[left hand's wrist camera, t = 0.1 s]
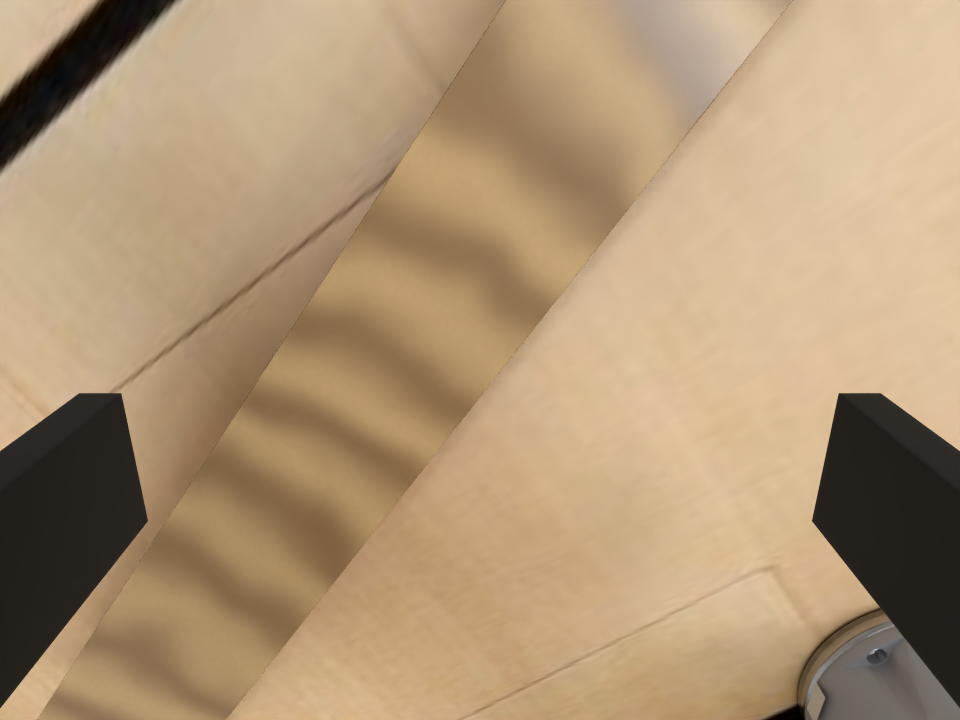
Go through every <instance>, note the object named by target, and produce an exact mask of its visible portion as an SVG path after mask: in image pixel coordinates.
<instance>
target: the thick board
mask: <svg viewBox="0 0 960 720" xmlns="http://www.w3.org/2000/svg"><path fill="white" fill-rule="evenodd" d="M792 1H793V0H505V2H504V3H503V5H502V7H501V8H500V10H499V11H498V13H497V14H496V16H495V17H494V19H493V20H492V22H491V23H490V25H489V26H488V28H487V30H486V31H485V33H484V34H483V36H482V37H481V39H480V40H479V42H478V43H477V45H476V46H475V48H474V49H473V51H472V53H471V54H470V56H469V57H468V59H467V60H466V62H465V63H464V65H463V66H462V68H461V69H460V71H459V73H458V74H457V76H456V77H455V79H454V80H453V82H452V83H451V85H450V86H449V88H448V89H447V91H446V92H445V94H444V96H443V97H442V99H441V100H440V102H439V103H438V105H437V106H436V108H435V109H434V111H433V112H432V114H431V115H430V117H429V119H428V120H427V122H426V123H425V125H424V126H423V128H422V129H421V131H420V132H419V134H418V135H417V137H416V139H415V140H414V142H413V143H412V145H411V146H410V148H409V149H408V151H407V152H406V154H405V155H404V157H403V158H402V160H401V162H400V163H399V165H398V166H397V168H396V169H395V171H394V172H393V174H392V175H391V177H390V178H389V180H388V181H387V183H386V185H385V186H384V188H383V189H382V191H381V192H380V194H379V195H378V197H377V198H376V200H375V201H374V203H373V205H372V206H371V208H370V209H369V211H368V212H367V214H366V215H365V217H364V218H363V220H362V221H361V223H360V224H359V226H358V228H357V229H356V231H355V232H354V234H353V235H352V237H351V238H350V240H349V241H348V243H347V244H346V246H345V247H344V249H343V251H342V252H341V254H340V255H339V257H338V258H337V260H336V261H335V263H334V264H333V266H332V267H331V269H330V271H329V272H328V274H327V275H326V277H325V278H324V280H323V281H322V283H321V284H320V286H319V287H318V289H317V290H316V292H315V294H314V295H313V297H312V298H311V300H310V301H309V303H308V304H307V306H306V307H305V309H304V310H303V312H302V313H301V315H300V317H299V318H298V320H297V321H296V323H295V324H294V326H293V327H292V329H291V330H290V332H289V333H288V335H287V337H286V338H285V340H284V341H283V343H282V344H281V346H280V347H279V349H278V350H277V352H276V353H275V355H274V356H273V358H272V360H271V361H270V363H269V364H268V366H267V367H266V369H265V370H264V372H263V373H262V375H261V376H260V378H259V379H258V381H257V383H256V384H255V386H254V387H253V389H252V390H251V392H250V393H249V395H248V396H247V398H246V399H245V401H244V403H243V404H242V406H241V407H240V409H239V410H238V412H237V413H236V415H235V416H234V418H233V419H232V421H231V422H230V424H229V426H228V427H227V429H226V430H225V432H224V433H223V435H222V436H221V438H220V439H219V441H218V442H217V444H216V445H215V447H214V449H213V450H212V452H211V453H210V455H209V456H208V458H207V459H206V461H205V462H204V464H203V465H202V467H201V469H200V470H199V472H198V473H197V475H196V476H195V478H194V479H193V481H192V482H191V484H190V485H189V487H188V488H187V490H186V492H185V493H184V495H183V496H182V498H181V499H180V501H179V502H178V504H177V505H176V507H175V508H174V510H173V511H172V513H171V515H170V516H169V518H168V519H167V521H166V522H165V524H164V525H163V527H162V528H161V530H160V531H159V533H158V535H157V536H156V538H155V539H154V541H153V542H152V544H151V545H150V547H149V548H148V550H147V551H146V553H145V554H144V556H143V558H142V559H141V561H140V562H139V564H138V565H137V567H136V568H135V570H134V571H133V573H132V574H131V576H130V577H129V579H128V581H127V582H126V584H125V585H124V587H123V588H122V590H121V591H120V593H119V594H118V596H117V597H116V599H115V601H114V602H113V604H112V605H111V607H110V608H109V610H108V611H107V613H106V614H105V616H104V617H103V619H102V620H101V622H100V624H99V625H98V627H97V628H96V630H95V631H94V633H93V634H92V636H91V637H90V639H89V640H88V642H87V643H86V645H85V647H84V648H83V650H82V651H81V653H80V654H79V656H78V657H77V659H76V660H75V662H74V663H73V665H72V667H71V668H70V670H69V671H68V673H67V674H66V676H65V677H64V679H63V680H62V682H61V683H60V685H59V686H58V688H57V690H56V691H55V693H54V694H53V696H52V697H51V699H50V700H49V702H48V703H47V705H46V706H45V708H44V709H43V711H42V713H41V714H40V716H39V717H38V719H37V720H226V719H227V718H228V716H229V715H230V714H231V713H232V711H233V710H234V709H235V707H236V706H237V705H238V704H239V702H240V701H241V700H242V699H243V697H244V696H245V695H246V693H247V692H248V691H249V690H250V688H251V687H252V686H253V685H254V683H255V682H256V681H257V680H258V678H259V677H260V676H261V674H262V673H263V672H264V671H265V669H266V668H267V667H268V666H269V664H270V663H271V662H272V661H273V659H274V658H275V657H276V655H277V654H278V653H279V652H280V650H281V649H282V648H283V647H284V645H285V644H286V643H287V641H288V640H289V639H290V638H291V636H292V635H293V634H294V633H295V631H296V630H297V629H298V628H299V626H300V625H301V624H302V622H303V621H304V620H305V619H306V617H307V616H308V615H309V614H310V612H311V611H312V610H313V608H314V607H315V606H316V605H317V603H318V602H319V601H320V600H321V598H322V597H323V596H324V595H325V593H326V592H327V591H328V589H329V588H330V587H331V586H332V584H333V583H334V582H335V581H336V579H337V578H338V577H339V575H340V574H341V573H342V572H343V570H344V569H345V568H346V567H347V565H348V564H349V563H350V562H351V560H352V559H353V558H354V556H355V555H356V554H357V553H358V551H359V550H360V549H361V548H362V546H363V545H364V544H365V542H366V541H367V540H368V539H369V537H370V536H371V535H372V534H373V532H374V531H375V530H376V529H377V527H378V526H379V525H380V523H381V522H382V521H383V520H384V518H385V517H386V516H387V515H388V513H389V512H390V511H391V509H392V508H393V507H394V506H395V504H396V503H397V502H398V501H399V499H400V498H401V497H402V496H403V494H404V493H405V492H406V490H407V489H408V488H409V487H410V485H411V484H412V483H413V482H414V480H415V479H416V478H417V476H418V475H419V474H420V473H421V471H422V470H423V469H424V468H425V466H426V465H427V464H428V463H429V461H430V460H431V459H432V457H433V456H434V455H435V454H436V452H437V451H438V450H439V449H440V447H441V446H442V445H443V443H444V442H445V441H446V440H447V438H448V437H449V436H450V435H451V433H452V432H453V431H454V430H455V428H456V427H457V426H458V424H459V423H460V422H461V421H462V419H463V418H464V417H465V416H466V414H467V413H468V412H469V410H470V409H471V408H472V407H473V405H474V404H475V403H476V402H477V400H478V399H479V398H480V397H481V395H482V394H483V393H484V391H485V390H486V389H487V388H488V386H489V385H490V384H491V383H492V381H493V380H494V379H495V377H496V376H497V375H498V374H499V372H500V371H501V370H502V369H503V367H504V366H505V365H506V364H507V362H508V361H509V360H510V358H511V357H512V356H513V355H514V353H515V352H516V351H517V350H518V348H519V347H520V346H521V344H522V343H523V342H524V341H525V339H526V338H527V337H528V336H529V334H530V333H531V332H532V331H533V329H534V328H535V327H536V325H537V324H538V323H539V322H540V320H541V319H542V318H543V317H544V315H545V314H546V313H547V311H548V310H549V309H550V308H551V306H552V305H553V304H554V303H555V301H556V300H557V299H558V298H559V296H560V295H561V294H562V292H563V291H564V290H565V289H566V287H567V286H568V285H569V284H570V282H571V281H572V280H573V279H574V277H575V276H576V275H577V273H578V272H579V271H580V270H581V268H582V267H583V266H584V265H585V263H586V262H587V261H588V259H589V258H590V257H591V256H592V254H593V253H594V252H595V251H596V249H597V248H598V247H599V246H600V244H601V243H602V242H603V240H604V239H605V238H606V237H607V235H608V234H609V233H610V232H611V230H612V229H613V228H614V226H615V225H616V224H617V223H618V221H619V220H620V219H621V218H622V216H623V215H624V214H625V213H626V211H627V210H628V209H629V207H630V206H631V205H632V204H633V202H634V201H635V200H636V199H637V197H638V196H639V195H640V193H641V192H642V191H643V190H644V188H645V187H646V186H647V185H648V183H649V182H650V181H651V180H652V178H653V177H654V176H655V174H656V173H657V172H658V171H659V169H660V168H661V167H662V166H663V164H664V163H665V162H666V160H667V159H668V158H669V157H670V155H671V154H672V153H673V152H674V150H675V149H676V148H677V147H678V145H679V144H680V143H681V141H682V140H683V139H684V138H685V136H686V135H687V134H688V133H689V131H690V130H691V129H692V127H693V126H694V125H695V124H696V122H697V121H698V120H699V119H700V117H701V116H702V115H703V114H704V112H705V111H706V110H707V108H708V107H709V106H710V105H711V103H712V102H713V101H714V100H715V98H716V97H717V96H718V94H719V93H720V92H721V91H722V89H723V88H724V87H725V86H726V84H727V83H728V82H729V81H730V79H731V78H732V77H733V75H734V74H735V73H736V72H737V70H738V69H739V68H740V67H741V65H742V64H743V63H744V61H745V60H746V59H747V58H748V56H749V55H750V54H751V53H752V51H753V50H754V49H755V48H756V46H757V45H758V44H759V42H760V41H761V40H762V39H763V37H764V36H765V35H766V34H767V32H768V31H769V30H770V28H771V27H772V26H773V25H774V23H775V22H776V21H777V20H778V18H779V17H780V16H781V15H782V13H783V12H784V11H785V9H786V8H787V7H788V6H789V4H790V3H791V2H792Z"/></svg>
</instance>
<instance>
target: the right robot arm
mask: <svg viewBox="0 0 960 720" xmlns="http://www.w3.org/2000/svg"><path fill="white" fill-rule="evenodd" d="M798 705H799V710H800V713H801V716H802V718H803V720H960V708H959V707H958V705H957V704H956V703H955V702H954V700H953V699H952V698H951V697H950V695H949V694H948V693H947V691H946V690H945V689H944V688H943V686H942V685H941V684H940V683H939V681H938V680H937V679H936V678H935V676H934V675H933V674H932V672H931V671H930V670H929V669H928V667H927V666H926V665H925V664H924V662H923V661H922V660H921V658H920V657H919V656H918V655H917V653H916V652H915V651H914V650H913V648H912V647H911V646H910V645H909V643H908V642H907V641H906V639H905V638H904V637H903V636H902V634H901V633H900V632H899V631H898V629H897V628H896V627H895V626H894V624H893V623H892V622H891V620H890V619H889V618H888V617H887V615H886V614H885V613H884V612H883V610H879V611H876V612H873V613H870V614H868V615H865V616H863V617H861V618H859V619H857V620H855V621H853V622H851V623H849V624H848V625H846V626H844V627H843V628H841V629H840V630H839V631H837V632H836V633H834V634H833V635H832V636H831V637H830V638H828V639H827V640H826V641H825V642H824V643H823V644H822V645H821V646H820V647H819V648H818V650H817V651H816V652H815V653H814V654H813V656H812V657H811V659H810V660H809V662H808V663H807V665H806V667H805V669H804V671H803V674H802V676H801V679H800V683H799V688H798Z"/></svg>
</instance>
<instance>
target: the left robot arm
mask: <svg viewBox="0 0 960 720" xmlns="http://www.w3.org/2000/svg"><path fill="white" fill-rule="evenodd" d="M147 522H148V519H147V514H146V509H145V505H144V500H143V495H142V490H141V486H140V481H139V476H138V471H137V466H136V462H135V457H134V452H133V447H132V443H131V438H130V433H129V428H128V423H127V419H126V414H125V409H124V404H123V400H122V395H121V393H79V394H78V395H76V396H75V397H74V398H72V399H71V400H70V401H68V402H67V403H66V404H64V405H63V406H61V407H60V408H59V409H57V410H56V411H55V412H53V413H52V414H50V415H49V416H48V417H46V418H45V419H44V420H42V421H41V422H40V423H38V424H37V425H35V426H34V427H33V428H31V429H30V430H29V431H27V432H26V433H25V434H23V435H22V436H20V437H19V438H18V439H16V440H15V441H14V442H12V443H11V444H9V445H8V446H7V447H5V448H4V449H3V450H1V451H0V708H1V707H2V705H3V704H4V703H5V702H6V700H7V699H8V698H9V697H10V695H11V694H12V693H13V691H14V690H15V689H16V688H17V686H18V685H19V684H20V683H21V681H22V680H23V679H24V678H25V676H26V675H27V674H28V672H29V671H30V670H31V669H32V667H33V666H34V665H35V664H36V662H37V661H38V660H39V658H40V657H41V656H42V655H43V653H44V652H45V651H46V650H47V648H48V647H49V646H50V645H51V643H52V642H53V641H54V639H55V638H56V637H57V636H58V634H59V633H60V632H61V631H62V629H63V628H64V627H65V626H66V624H67V623H68V622H69V620H70V619H71V618H72V617H73V615H74V614H75V613H76V612H77V610H78V609H79V608H80V607H81V605H82V604H83V603H84V601H85V600H86V599H87V598H88V596H89V595H90V594H91V593H92V591H93V590H94V589H95V588H96V586H97V585H98V584H99V582H100V581H101V580H102V579H103V577H104V576H105V575H106V574H107V572H108V571H109V570H110V569H111V567H112V566H113V565H114V563H115V562H116V561H117V560H118V558H119V557H120V556H121V555H122V553H123V552H124V551H125V549H126V548H127V547H128V546H129V544H130V543H131V542H132V541H133V539H134V538H135V537H136V536H137V534H138V533H139V532H140V530H141V529H142V528H143V527H144V525H145V524H146V523H147ZM812 522H813V523H814V524H815V525H816V527H817V528H818V529H819V530H820V532H821V533H822V534H823V536H824V537H825V538H826V539H827V541H828V542H829V543H830V544H831V546H832V547H833V548H834V550H835V551H836V552H837V553H838V555H839V556H840V557H841V558H842V560H843V561H844V562H845V563H846V565H847V566H848V567H849V569H850V570H851V571H852V572H853V574H854V575H855V576H856V577H857V579H858V580H859V581H860V582H861V584H862V585H863V586H864V588H865V589H866V590H867V591H868V593H869V594H870V595H871V596H872V598H873V599H874V600H875V601H876V603H877V604H878V605H879V607H880V608H881V609H882V610H883V612H884V613H885V614H886V615H887V617H888V618H889V619H890V620H891V622H892V623H893V624H894V626H895V627H896V628H897V629H898V631H899V632H900V633H901V634H902V636H903V637H904V638H905V639H906V641H907V642H908V643H909V645H910V646H911V647H912V648H913V650H914V651H915V652H916V653H917V655H918V656H919V657H920V658H921V660H922V661H923V662H924V664H925V665H926V666H927V667H928V669H929V670H930V671H931V672H932V674H933V675H934V676H935V678H936V679H937V680H938V681H939V683H940V684H941V685H942V686H943V688H944V689H945V690H946V691H947V693H948V694H949V695H950V697H951V698H952V699H953V700H954V702H955V703H956V704H957V705H958V707H959V708H960V451H959V450H957V449H956V448H955V447H953V446H952V445H951V444H949V443H948V442H946V441H945V440H944V439H942V438H941V437H940V436H938V435H937V434H935V433H934V432H933V431H931V430H930V429H929V428H927V427H926V426H925V425H923V424H922V423H920V422H919V421H918V420H916V419H915V418H914V417H912V416H911V415H910V414H908V413H907V412H905V411H904V410H903V409H901V408H900V407H899V406H897V405H896V404H894V403H893V402H892V401H890V400H889V399H888V398H886V397H885V396H884V395H882V394H881V393H839V395H838V400H837V404H836V409H835V414H834V419H833V423H832V428H831V433H830V438H829V443H828V447H827V452H826V457H825V462H824V466H823V471H822V476H821V481H820V486H819V490H818V495H817V500H816V505H815V509H814V514H813V519H812Z"/></svg>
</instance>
